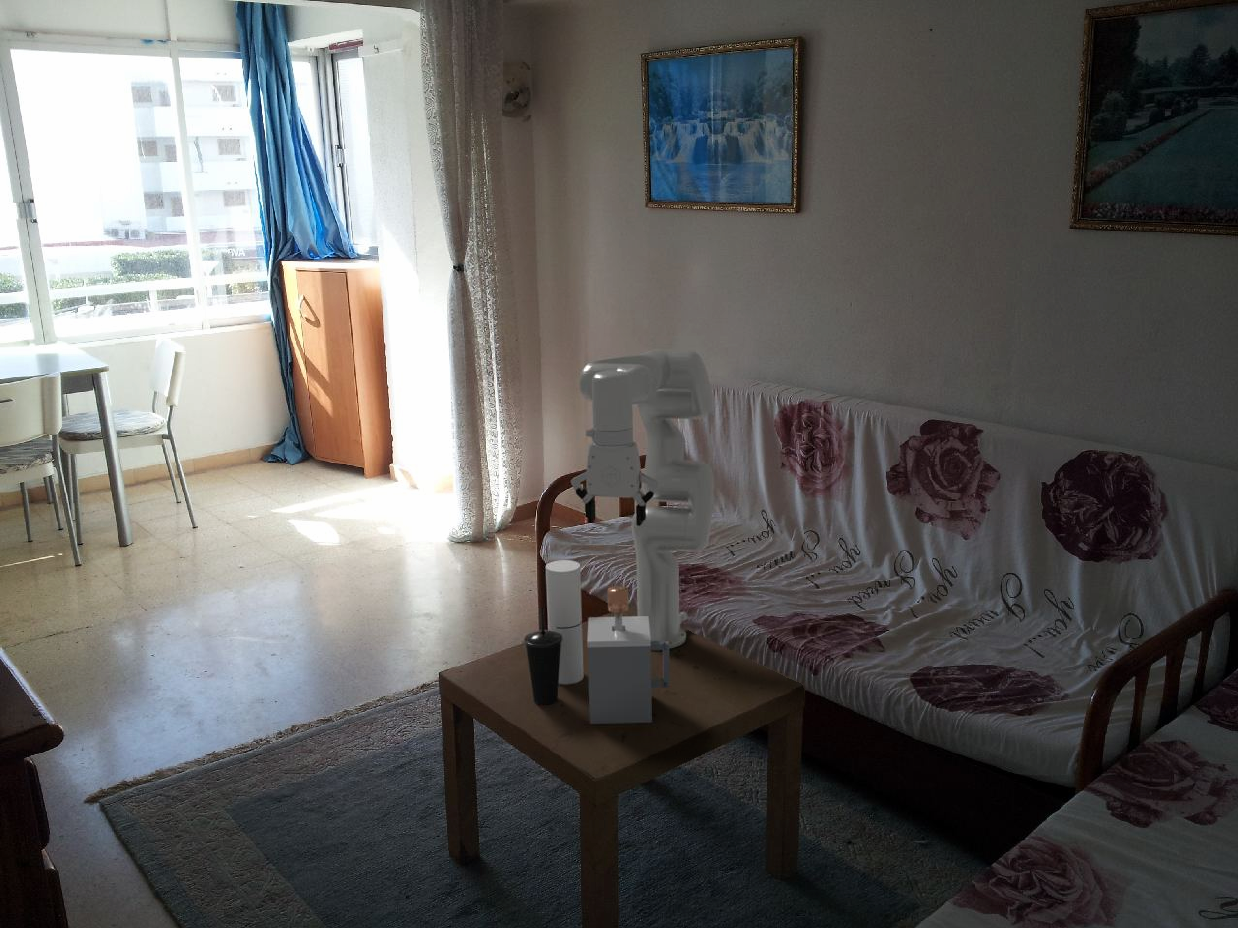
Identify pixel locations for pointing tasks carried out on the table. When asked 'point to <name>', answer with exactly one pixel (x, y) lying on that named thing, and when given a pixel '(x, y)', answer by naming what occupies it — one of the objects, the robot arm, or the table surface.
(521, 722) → the table surface
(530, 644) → the drinking cup
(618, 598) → the copper piston
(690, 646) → the table surface
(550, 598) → the cylindrical container
